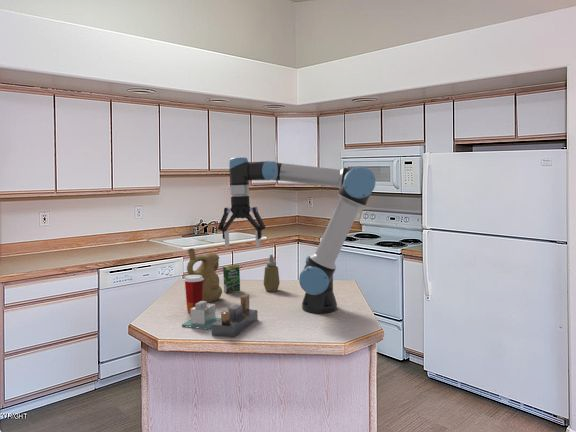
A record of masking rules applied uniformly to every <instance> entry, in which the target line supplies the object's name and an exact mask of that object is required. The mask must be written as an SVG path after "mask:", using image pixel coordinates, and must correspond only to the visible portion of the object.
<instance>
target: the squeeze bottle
mask: <svg viewBox="0 0 576 432" xmlns="http://www.w3.org/2000/svg"><path fill="white" fill-rule="evenodd" d="M279 273H280V271H279V267H278V266H277V262H276V261H275V259H274V256H273V254H270V255H269V259H268V261H267V262H266V266H265V267H264V273H263V274H264V275H263V286H264V288H265V291H266V292H270V293H271V292H272V293H273V292H277V291H278V290H279V287H280V283H281V282H280V274H279Z"/></svg>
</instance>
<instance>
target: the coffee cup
mask: <svg viewBox="0 0 576 432" xmlns="http://www.w3.org/2000/svg"><path fill="white" fill-rule="evenodd" d="M203 280H204V279H203V277H202V275H189V274H188V275H185V277H184V279H183V281H184V287H185V288H184V289H185V298H186V299H185V300H186V306H187V307H186V311H187V312H188V313H189V312H191V311H190V309H191V308H193V307H195V304H196V303H198V302H200V301H202V292H203Z"/></svg>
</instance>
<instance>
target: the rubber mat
mask: <svg viewBox="0 0 576 432" xmlns="http://www.w3.org/2000/svg"><path fill="white" fill-rule="evenodd" d="M219 319H221V317H216V319H215V320H213V321H211V322H210V323H208V324H207V325H205V326H203V325H194V324H191V319H189V320H188V321H186V322H183V323H182V324H181V327H182V326H191V327H199V328H206V329H205V330H207V329H210V328H212V325H211V324H213V323H214V322H216V321H218V320H219ZM199 328H198V329H199ZM210 330H211V329H210Z"/></svg>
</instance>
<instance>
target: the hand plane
mask: <svg viewBox="0 0 576 432" xmlns="http://www.w3.org/2000/svg"><path fill="white" fill-rule="evenodd" d="M220 316H221V317H220V318H221V319H219V320H218V321H216V322H214V323H213V324H211V325H212V329H211V336H218V337H225V338H235V337H237V336H239V335H240V334H241V333H242V332H244V331H245V330H246V329H247V328H249V327H251V326H252V325H253V324H254V323H256V321H258V320H259V319H258V309H250V294H246V293H245V294H243V295H241V296H240V304H239V303H238V304H236V303H235V304H233V305H231V306H230V307H228V310H227V311H222V312H221V313H220Z"/></svg>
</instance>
